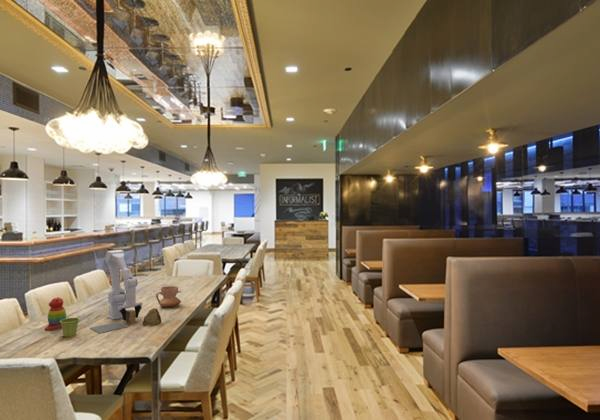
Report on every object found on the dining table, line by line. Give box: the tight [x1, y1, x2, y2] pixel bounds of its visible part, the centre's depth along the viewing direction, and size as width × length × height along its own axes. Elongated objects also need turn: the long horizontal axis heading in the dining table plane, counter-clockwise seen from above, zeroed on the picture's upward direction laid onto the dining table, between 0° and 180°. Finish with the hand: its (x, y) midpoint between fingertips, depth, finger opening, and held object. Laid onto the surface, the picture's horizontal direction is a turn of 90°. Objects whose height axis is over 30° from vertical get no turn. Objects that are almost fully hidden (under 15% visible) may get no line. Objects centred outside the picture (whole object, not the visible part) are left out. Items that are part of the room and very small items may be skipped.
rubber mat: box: [89, 321, 129, 334], centre depth 222 cm, size 14×16×1 cm
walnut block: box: [125, 309, 137, 324], centre depth 234 cm, size 6×4×7 cm, turn 50°
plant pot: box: [60, 317, 81, 338], centre depth 208 cm, size 9×9×9 cm
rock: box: [142, 307, 162, 326], centre depth 231 cm, size 11×9×10 cm
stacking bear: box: [44, 296, 67, 332], centre depth 223 cm, size 11×10×18 cm
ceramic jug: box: [155, 285, 182, 309], centre depth 272 cm, size 18×14×14 cm
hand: (130, 319), depth 234 cm, fingers open, 7 cm apart
